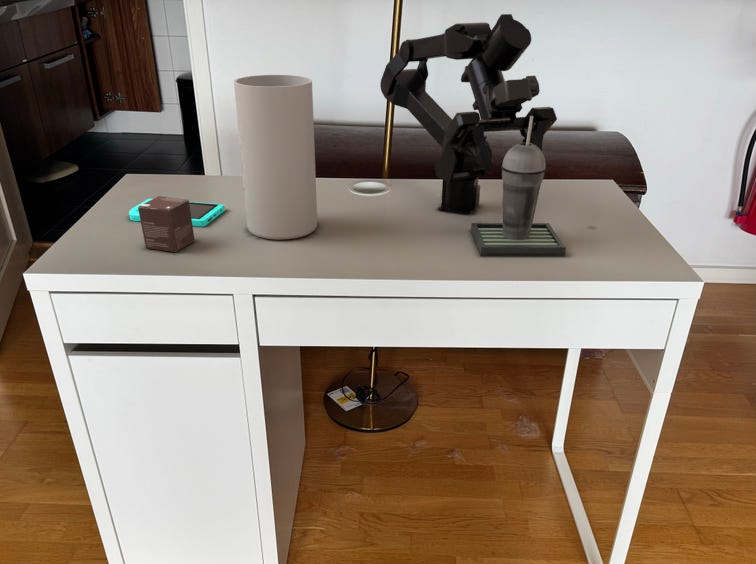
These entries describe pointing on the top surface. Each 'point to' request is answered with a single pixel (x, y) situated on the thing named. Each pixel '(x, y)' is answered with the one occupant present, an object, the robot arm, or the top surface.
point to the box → (166, 223)
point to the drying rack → (517, 241)
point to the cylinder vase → (277, 154)
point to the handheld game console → (199, 212)
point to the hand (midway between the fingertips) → (515, 170)
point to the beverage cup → (521, 187)
